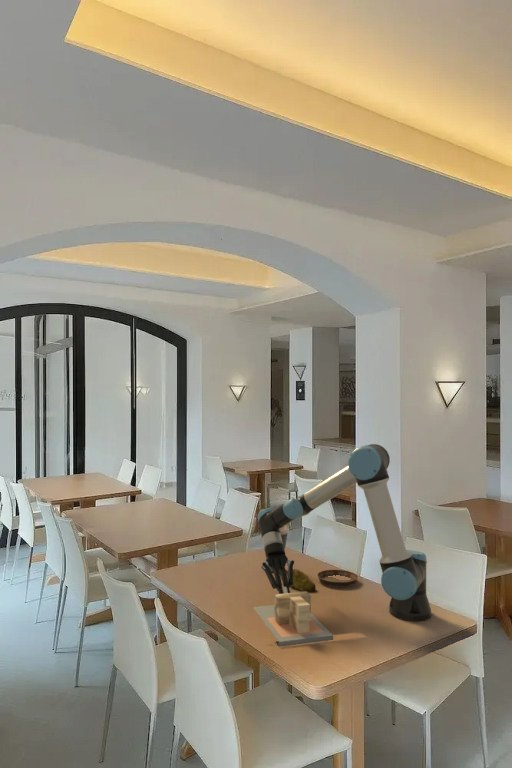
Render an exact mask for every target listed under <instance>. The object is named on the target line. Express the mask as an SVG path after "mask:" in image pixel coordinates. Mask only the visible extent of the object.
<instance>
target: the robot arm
mask: <svg viewBox="0 0 512 768" xmlns="http://www.w3.org/2000/svg"><path fill="white" fill-rule="evenodd" d="M390 462H391V459H390V455H389V452H388V450H387V449H386V448H385V447H384V446H382V445H380V444H377V443H376V444H375V443H371V444H366V445H361V446H359V447H357V448H355V449H354V450H353V451H352V452H351V453H350V455H349V457H348V460H347V465H346V466H345V467H344V468H342V469H340V470H339V471H337V472H336V473H334V474H333V475H331V476H329V477H328V478H326V479H325V480H323V481H322V482H320V483H319V484H317V485H316V486H314V487H312V488H311V489H309V490H308V491H306V492H304V493H303V494H301V495H300V496H298V497H297V498H294V497H291V498H290V499H288V500H286V501H284V502H283V503H282V504H281V505H279V506H278V507H276V508H274V509H273V508H270V507H269V508H268V507H267V508H265V509H261V510H260V511H258V514H257V522H258V523H257V524H258V528H259V530H260V535H261V540H262V545H263V548H264V553H265V559H266V560H265V561H264V562H262V564H261V566H260V567H261V569H262V571H264V572H265V575H266V577H267V579H268V581H269V583H270V585H271V587H272V589H273V590H274V589H276V591H277V592H278V594H285V593H291V591H290V588H292V585H293V569H294V564H295V560H290V559H289V557H288V556H287V555H286V552H285V549H284V546H283V542H282V538H281V535H280V530H281V529H283V527H285V526H287V525H288V524H290V523H291V522H293V521H295V520H298V519H299V518H302V517H305V516H307V515H309V514H310V513H311V512H312V511H315V510H316V509H317V508H319V507H321V506H322V505H324V504H325V503H327V502H328V501H330V500H332V499H333V498H335V497H336V496H338V495H340V494H342V493H343V492H344V491H346V490H348V489H349V488H351V487H353V486H354V485H356V484H357V487H359V488H360V489H362V490H363V492H364V497H365V500H366V504H367V508H368V510H369V511H368V512H369V514H370V517H371V521H372V525H373V528H374V531H375V535H376V538H377V542H378V546H379V550H380V552H381V556H380V559H379V565H380V569H381V572H382V574H381V577H380V578H381V579H380V580H381V582H380V583H381V586H382V589H383V592H385V593H386V595H388V597H390V598H391V599H390V601H389V606H388V609H389V610H388V612H389V613H390V614H391V615H392V616H393V617H395V618H398V619H400V620H404V621H410V622H422V621H428V620H430V618H432V609H431V605H430V601H429V599H428V596H427V595H428V594H427V563H428V561H427V555H426V553H424V552H421V551H418V550H412V549H406V545H405V542H404V539H403V535H402V532H401V528H400V525H399V522H398V519H397V515H396V511H395V508H394V504H393V501H392V497H391V495H390V492H389V488H388V481H389V480H390V477H389V471H388V468H389V467H390ZM286 564H287V567H288V569H287V572H286ZM269 566H270V567H271V568H272V569H273V572H272V571H271V570H270V568H269ZM279 571H280V572H279ZM273 574H274V575H273ZM287 575H288V579H287Z"/></svg>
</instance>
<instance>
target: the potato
mask: <svg viewBox="0 0 512 768" xmlns="http://www.w3.org/2000/svg"><path fill="white" fill-rule="evenodd" d="M286 575H287V579H288V574H286ZM316 586H317V585H316V583H315V582H314V581H313V580H312V579H311V578H310V577H309V576H308V575H307V574H306V573H305V572H303V571H302V570H300V569H298V568H297V569H296V568H295V569H294V568H293V585H292V586H291V588H292V587H293V588H294V589H295V590H297V591H299V592H304V591H307V592H308V593H309V592H310V593H312V592H316Z"/></svg>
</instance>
